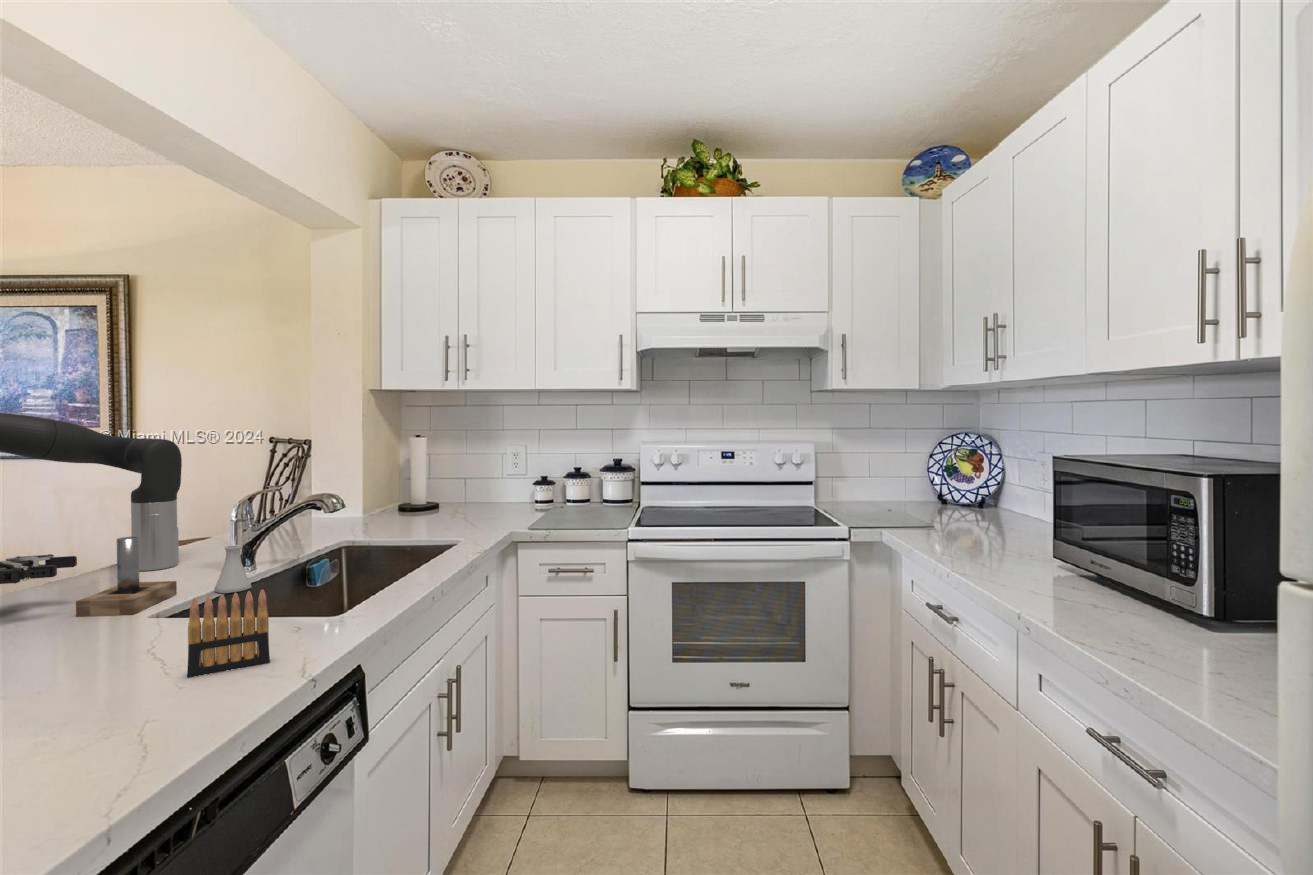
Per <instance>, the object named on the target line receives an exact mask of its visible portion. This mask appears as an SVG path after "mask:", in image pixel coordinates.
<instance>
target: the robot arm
mask: <svg viewBox="0 0 1313 875" xmlns="http://www.w3.org/2000/svg"><path fill="white" fill-rule="evenodd" d="M0 452H1V453H5V454H10V455H15V456H20V457H25V458H28V459H29V458H30V459H37V460H43V461H48V462H49V461H50V462H59V463H71V464H94V465H95V464H97V465H104V466H108V467H113V468H115V469H116V468H117V469H121V470H124V471H125V470H126V471H129V472H133V473H137V474H140V475H141V476H140V477H141V478H140V483H139V485H138V487H137V488H135V489H133V490H131V492H130V515H131V517H130V521H131V522H130V524H131V525H130V526H131V528H130V529H131V534H130V535H131V536H130V537H139V572H140V571H141V572H144V571H147V572H148V571H156V570H157V571H158V570H163V569H169V568H172V567H175V566H177V565H178V564H179V563H180V557H179V556H180V555H179V551H180V549H179V544H180V543H179V541H180V540H179V527H178V509H177V508H178V497H177V496H178V493H179V490H180V488H181V484H182V466H183V465H182V464H183V462H182V461H183V460H182V459H183V458H182V453H181V450H180V447H179V446H178V445H177V444H176V443H175V442H174V441H172V440H169V439H164V438H137V437H136V438H135V437H123V436H115V435H110V434H105V433H101V432H99V431H96V430H93V429H92V428H88V427H85V426H82V425H80V424H76V423H71V422H69V421H68V422H67V421H63V420H59V419H58V420H57V419H53V418H48V417H41V416H32V415H26V414H17V413H16V414H14V413H3V412H0ZM43 561H45V562H44V563H45V564H39V562H43ZM76 566H78V558H77V556H76V555H68V556H54V554H52V553H51V554H50V553H49V554H44V555H43V554H42V555H41V554H40V555H28V556H27V555H26V556H20V555H19V556H16V557H7V558H5V560H0V585H6V584H7V585H8V584H13V585H14V584H18V583H21V581H23V582H26V581H28V580H31V579H33V580H34V579H47V578H54V577H56V576H57V574H58V569H65V568H74V567H76Z"/></svg>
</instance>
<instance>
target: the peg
mask: <svg viewBox="0 0 1313 875" xmlns="http://www.w3.org/2000/svg"><path fill="white" fill-rule="evenodd" d="M116 578H117V579H116V580H117V581H116V584H117V585H116V586H117V594H135V593H138V592H140V588H139V582H140V571H139V537H131V536H125V537H124V536H123V537H118V538H116Z"/></svg>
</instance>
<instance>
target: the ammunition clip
mask: <svg viewBox="0 0 1313 875" xmlns="http://www.w3.org/2000/svg"><path fill="white" fill-rule="evenodd" d="M253 598H254V597H253V595H252V592H251V591H250V590H248V591H247V593H246V596H245V600H244V614H243V617H242V613H241V612H242V611H241V602H240V601H241V600H240V597H239V595H238V593H237V592H233V595H232V599H231V604H230V617H229V616H228V606H227V600H226V597H225V595H224V593H220V596H219V598H218V602H217V613H216V614H217V616H216V621H215V616H214V607H213V606H214V605H213V601H212V598H211V596H210V595H208V596H207V597H206V599H205V601H204V606H203V620H202V623H201V618H200V607H199V603H198V600H197V597H193V598H192V599H191V603H190V606H189V618H188V619H189V620H188V626H187V672H186V677H187V678H188V679H189V678H195V677H194V676H196V677H200V676H199V675H201V676H205V675H204V674H207V675H211V674H210V673H212V674H217V673H222V672H227V671H226V670H229V671H232V670H231V669H234V670H238V668H240V669H244V668H250V667H255V666H261V665H266V664H270V663H271V659H270V658H271V657H270V643H269V642H270V641H269V639H270V638H269V637H270V636H269V635H270V634H269V631H270V630H269V612H268V604H267V603H268V602H267V595H266V592H265V590H264V589H260V592H259V595H258V601H257V613H256V615H255V608H254V605H255V604H254V599H253ZM228 617H229V618H228ZM242 618H243V619H242Z"/></svg>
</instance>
